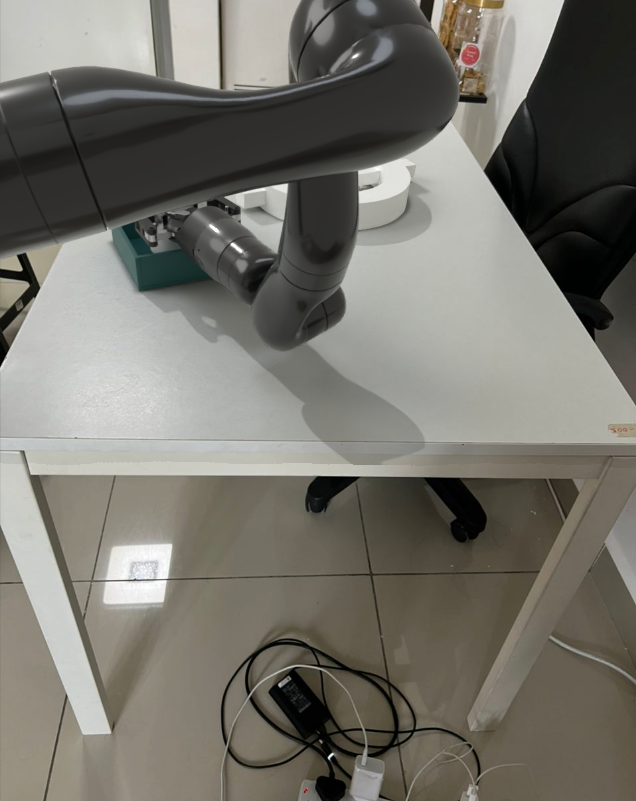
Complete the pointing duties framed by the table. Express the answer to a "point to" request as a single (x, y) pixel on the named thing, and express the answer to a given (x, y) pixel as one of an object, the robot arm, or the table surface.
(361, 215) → the ring with crossbar
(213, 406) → the table surface
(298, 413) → the table surface
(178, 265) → the teal open storage bin
